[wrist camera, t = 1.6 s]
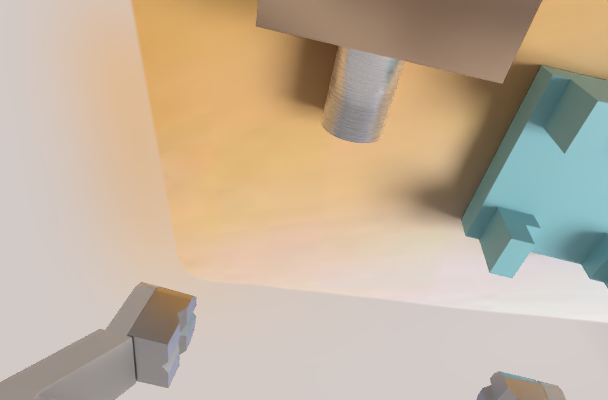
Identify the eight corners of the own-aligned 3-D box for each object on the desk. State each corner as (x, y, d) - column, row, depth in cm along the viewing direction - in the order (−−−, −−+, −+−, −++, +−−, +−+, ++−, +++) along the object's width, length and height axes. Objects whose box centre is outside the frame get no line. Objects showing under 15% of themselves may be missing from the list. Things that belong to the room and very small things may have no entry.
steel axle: (385, -150, 20) (381, -165, 17) (464, -133, 20) (475, -146, 17) (326, 109, 28) (316, 132, 25) (382, 124, 28) (379, 149, 25)
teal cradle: (541, 65, 24) (577, 96, 20) (741, 111, 24) (824, 153, 20) (461, 219, 31) (474, 269, 27) (616, 257, 31) (656, 313, 26)
